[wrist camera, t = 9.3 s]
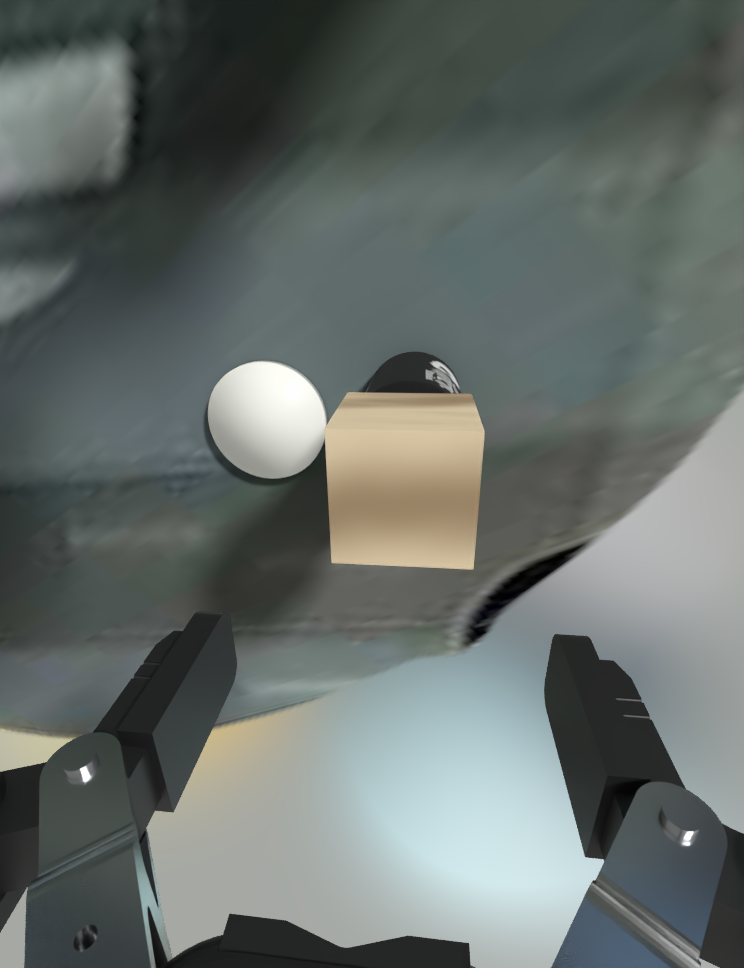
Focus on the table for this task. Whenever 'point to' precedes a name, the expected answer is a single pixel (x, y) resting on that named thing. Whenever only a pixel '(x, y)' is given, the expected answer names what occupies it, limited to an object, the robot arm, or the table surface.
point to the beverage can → (414, 375)
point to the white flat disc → (267, 419)
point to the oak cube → (404, 479)
